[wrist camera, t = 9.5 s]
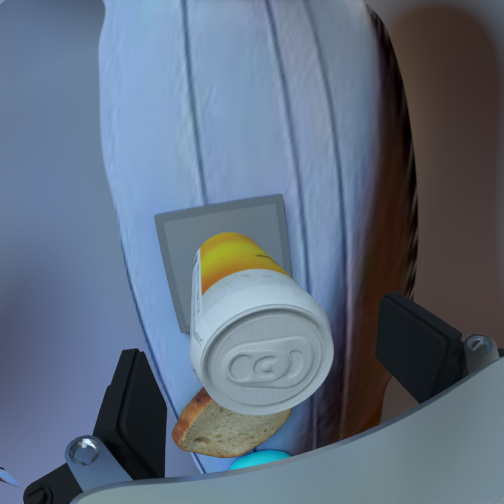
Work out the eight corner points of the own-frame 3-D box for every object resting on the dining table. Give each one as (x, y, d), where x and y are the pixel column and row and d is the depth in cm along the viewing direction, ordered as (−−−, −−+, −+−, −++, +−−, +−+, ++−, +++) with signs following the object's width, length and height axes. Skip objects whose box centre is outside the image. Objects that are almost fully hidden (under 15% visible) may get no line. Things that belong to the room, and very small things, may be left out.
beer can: (259, 299, 26) (325, 413, 11) (192, 297, 25) (192, 423, 10) (266, 232, 24) (356, 294, 10) (194, 228, 23) (189, 293, 9)
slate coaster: (156, 214, 24) (154, 215, 22) (278, 193, 25) (282, 194, 24) (181, 327, 26) (181, 333, 25) (291, 305, 28) (295, 310, 27)
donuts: (325, 504, 25) (269, 530, 25) (304, 457, 35) (256, 484, 35) (283, 495, 22) (221, 521, 23) (264, 438, 32) (213, 468, 32)
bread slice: (296, 317, 29) (309, 333, 25) (311, 423, 33) (321, 441, 30) (132, 357, 27) (125, 377, 23) (187, 453, 31) (188, 473, 28)
